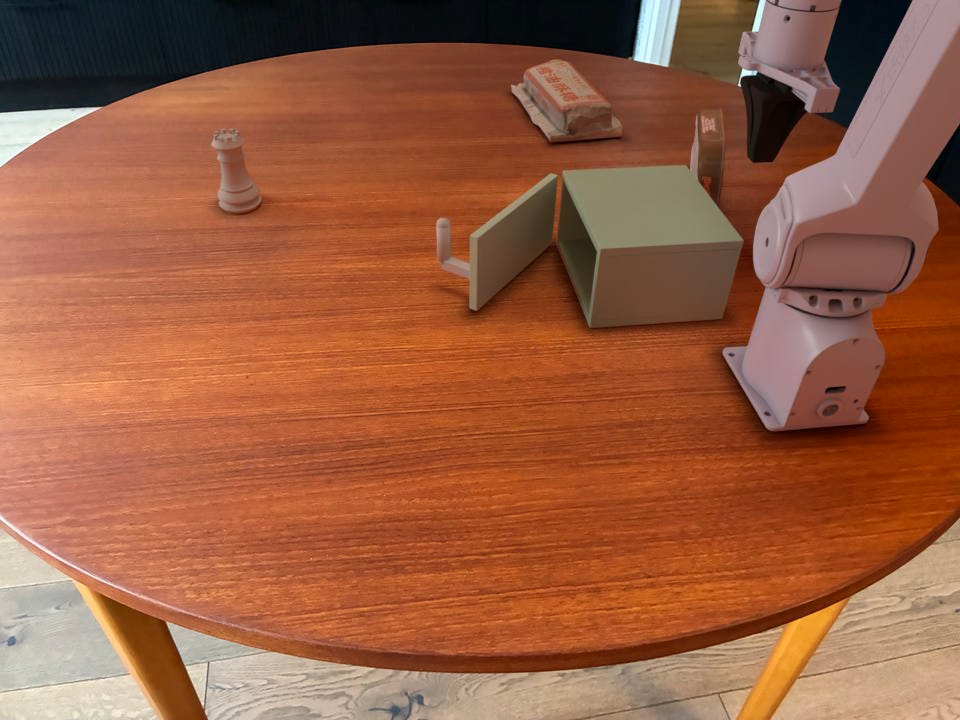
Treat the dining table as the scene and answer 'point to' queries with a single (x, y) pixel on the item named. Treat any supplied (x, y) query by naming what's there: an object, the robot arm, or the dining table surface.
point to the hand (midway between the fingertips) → (760, 159)
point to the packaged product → (566, 103)
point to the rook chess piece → (234, 174)
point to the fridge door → (503, 242)
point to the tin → (709, 151)
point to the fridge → (645, 246)
